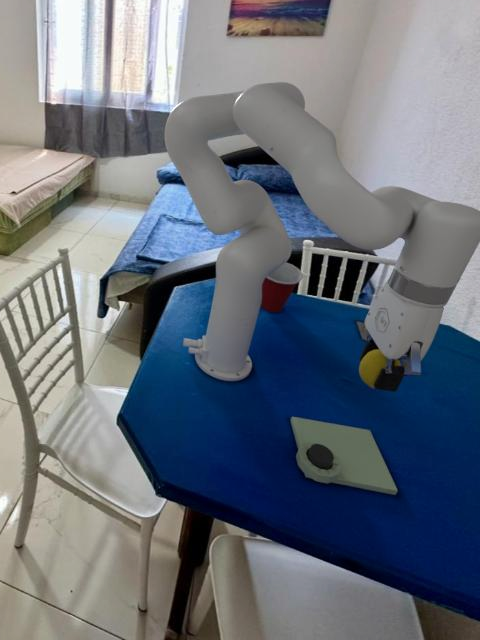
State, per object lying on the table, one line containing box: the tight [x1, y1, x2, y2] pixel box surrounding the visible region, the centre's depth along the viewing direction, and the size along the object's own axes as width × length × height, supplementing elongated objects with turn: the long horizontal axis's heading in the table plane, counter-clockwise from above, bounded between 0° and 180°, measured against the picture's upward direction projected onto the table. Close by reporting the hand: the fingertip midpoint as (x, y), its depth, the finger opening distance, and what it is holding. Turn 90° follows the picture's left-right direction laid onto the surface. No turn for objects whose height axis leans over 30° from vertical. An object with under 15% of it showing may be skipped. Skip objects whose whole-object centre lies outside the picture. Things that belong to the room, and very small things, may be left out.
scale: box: [290, 416, 398, 496], centre depth 72 cm, size 15×13×3 cm
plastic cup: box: [260, 262, 304, 313], centre depth 111 cm, size 11×11×12 cm
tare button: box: [308, 444, 334, 469], centre depth 69 cm, size 4×4×2 cm
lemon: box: [358, 349, 402, 389], centre depth 68 cm, size 6×6×8 cm
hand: (376, 374), depth 69 cm, fingers closed on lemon, 5 cm apart
